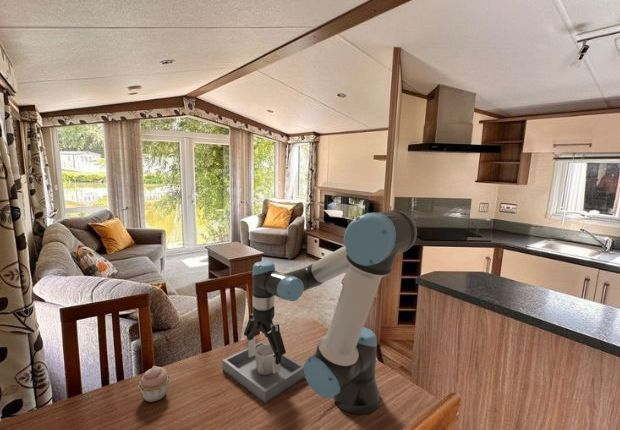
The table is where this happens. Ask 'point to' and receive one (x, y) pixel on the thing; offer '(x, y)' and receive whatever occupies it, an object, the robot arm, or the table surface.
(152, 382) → the cupcake
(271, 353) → the cup
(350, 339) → the robot arm
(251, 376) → the box
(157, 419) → the table surface
